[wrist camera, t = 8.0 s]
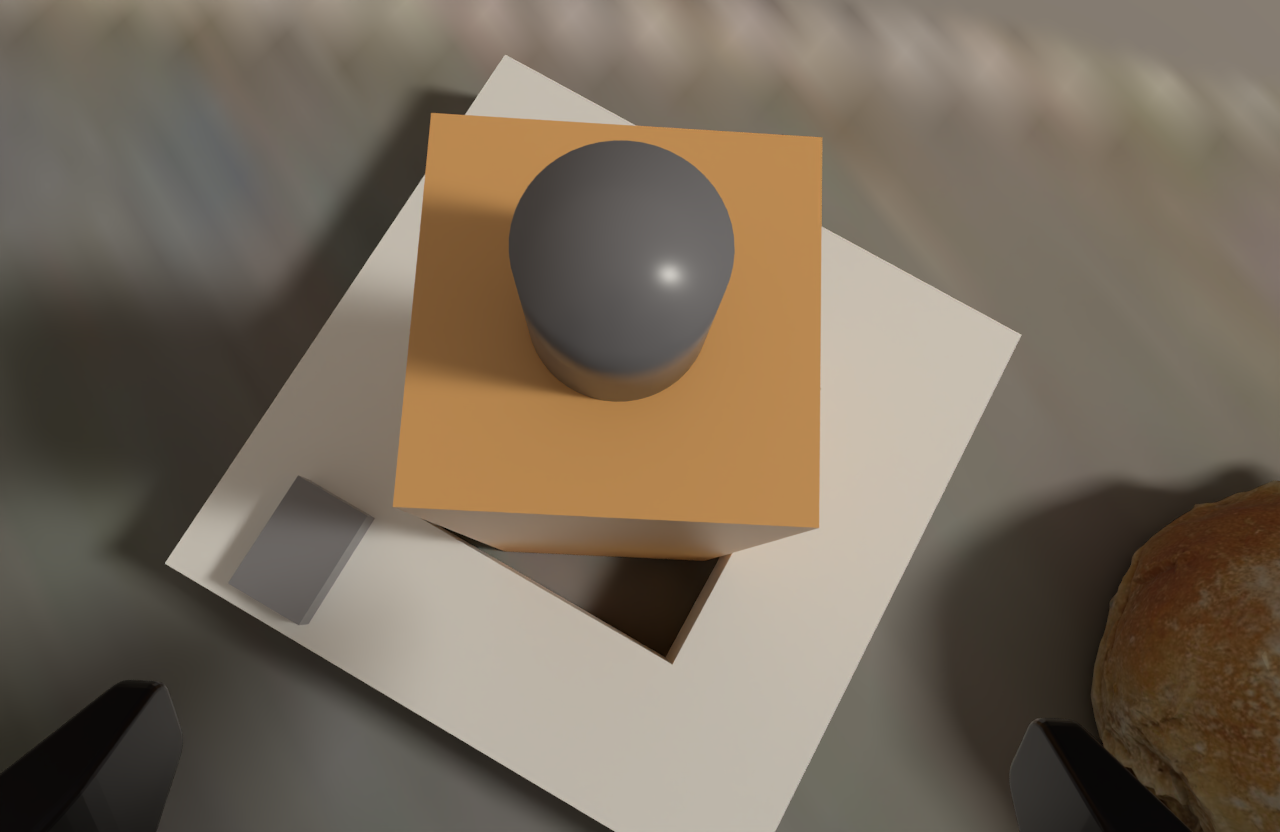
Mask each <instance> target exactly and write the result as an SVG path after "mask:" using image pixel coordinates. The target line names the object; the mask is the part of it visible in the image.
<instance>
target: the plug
mask: <svg viewBox="0 0 1280 832" xmlns="http://www.w3.org/2000/svg"><path fill="white" fill-rule="evenodd" d="M821 231H822V137H807V136H791V135H775V134H759V133H743V132H727V131H711V130H695V129H680V128H664V127H648V126H632V125H616V124H600V123H584V122H568V121H552V120H536V119H520V118H504V117H489V116H473V115H457V114H441V113H431V121H430V131H429V141H428V152H427V162H426V172H425V182H424V192H423V203H422V213H421V223H420V233H419V243H418V254H417V264H416V274H415V284H414V294H413V305H412V315H411V325H410V335H409V345H408V356H407V366H406V376H405V386H404V396H403V407H402V417H401V427H400V437H399V447H398V458H397V468H396V478H395V488H394V499H393V507H394V508H397V509H399V510H402V511H404V512H407V513H409V514H412V515H414V516H417V517H419V518H422V519H424V520H427V521H429V522H432V523H434V524H437V525H439V526H442V527H444V528H447V529H449V530H452V531H454V532H457V533H459V534H462V535H464V536H467V537H469V538H472V539H474V540H477V541H479V542H482V543H485V544H487V545H490V546H492V547H495V548H497V549H500V550H502V551H506V552H527V553H548V554H569V555H590V556H611V557H632V558H653V559H674V560H695V561H706V560H709V559H713V558H716V557H720V556H723V555H727V554H730V553H734V552H737V551H741V550H744V549H748V548H751V547H755V546H758V545H762V544H765V543H769V542H772V541H775V540H779V539H782V538H786V537H789V536H793V535H796V534H800V533H803V532H807V531H810V530H814V529H817V528H819V495H820V363H821Z"/></svg>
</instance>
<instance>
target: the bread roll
mask: <svg viewBox="0 0 1280 832" xmlns="http://www.w3.org/2000/svg"><path fill="white" fill-rule="evenodd" d="M1109 607H1110V610H1109V615H1108V620H1107V624H1106V629H1105V632H1104V635H1103V637H1102V640H1101V642H1100V645H1099V649H1098V653H1097V657H1096V661H1095V665H1094V673H1093V681H1092V689H1091V700H1092V706H1093V711H1094V716H1095V721H1096V724H1097V728H1098V732H1099V736H1100V739H1101V740H1102V742H1103V745H1104V748H1105V749H1106V750H1107V751H1108V752H1110V753H1111V754H1112V755H1113V756H1114V757H1115V758H1116V759H1117V760H1118V761H1119V762H1120V763H1121V764H1122V765H1123V766H1124V767H1125V768H1126V769H1127V770H1128V771H1130V772H1131V773H1132V774H1133V775H1134V776H1135V777H1136V778H1137V779H1138V780H1139V781H1140V782H1141V783H1142V784H1143V785H1144V786H1145V787H1146V788H1147V789H1148V790H1150V791H1151V792H1152V793H1153V794H1154V795H1155V796H1156V797H1157V798H1158V799H1159V800H1160V801H1161V802H1162V803H1163V804H1164V805H1165V806H1166V807H1167V808H1168V809H1170V810H1171V811H1172V812H1173V813H1174V814H1175V815H1176V816H1177V817H1178V818H1179V819H1180V820H1181V821H1182V822H1183V823H1184V824H1185V825H1186V826H1187V827H1188V828H1190V829H1191V830H1192V831H1193V832H1280V481H1271V482H1269V483H1267V484H1264V485H1262V486H1260V487H1258V488H1255V489H1253V490H1251V491H1247V492H1240V493H1236V494H1234V495H1231V496H1229V497H1227V498H1225V499H1223V500H1220V501H1218V502H1215V503H1201V504H1195V506H1194V507H1193V509H1192V510H1191V511H1189V512H1187V513H1185V514H1184V515H1182V516H1180V517H1179V518H1177V519H1176V520H1174V521H1173V522H1171V523H1170V524H1169V525H1167V526H1166V527H1165V528H1163V529H1162V530H1160V531H1159V532H1158V533H1156V534H1155V535H1154V536H1152V537H1151V538H1150V539H1149V540H1148V541H1147V543H1146V544H1144V545H1143V546H1142V547H1141V548H1140V549H1138V550H1137V551H1136V552H1135V553H1134V555H1133V557H1132V563H1131V566H1130V568H1129V569H1128V571H1127V573H1126V574H1125V575H1124V577H1123V578H1122V582H1121V584H1120V585H1119V588H1118V592H1117V593H1116V594H1115V596H1114V597H1113V598H1112V599H1111V600H1110V601H1109Z"/></svg>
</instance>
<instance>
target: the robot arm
mask: <svg viewBox="0 0 1280 832" xmlns="http://www.w3.org/2000/svg"><path fill="white" fill-rule="evenodd" d="M182 744H183V735H182V730H181V727H180V724H179V720H178V717H177V714H176V711H175V708H174V705H173V702H172V699H171V696H170V693H169V691H168V688H167V687H166V686H165V685H164V684H163V683H162V682H158V681H142V680H126V681H122V682H119V683H117V684H115V685H114V686H112V687H111V688H110V689H108V690H107V691H106V692H104V693H103V694H102V695H101V696H99V697H98V698H97V699H96V700H94V701H93V702H92V703H90V704H89V705H88V706H87V707H85V708H84V709H83V710H81V711H80V712H79V713H78V714H76V715H75V716H74V717H73V718H71V719H70V720H69V721H67V722H66V723H65V724H64V725H62V726H61V727H60V728H58V729H57V730H56V731H55V732H53V733H52V734H51V735H50V736H48V737H47V738H46V739H44V740H43V741H42V742H41V743H39V744H38V745H37V746H35V747H34V748H33V749H32V750H30V751H29V752H28V753H27V754H25V755H24V756H23V757H21V758H20V759H19V760H18V761H16V762H15V763H14V764H12V765H11V766H10V767H9V768H7V769H6V770H5V771H4V772H2V773H1V774H0V832H156V831H157V827H158V824H159V821H160V818H161V815H162V812H163V809H164V806H165V803H166V799H167V796H168V793H169V790H170V787H171V784H172V781H173V778H174V775H175V771H176V768H177V765H178V762H179V759H180V755H181V751H182ZM1009 779H1010V789H1011V794H1012V798H1013V803H1014V807H1015V812H1016V817H1017V821H1018V826H1019V831H1020V832H1193V831H1192V830H1191V829H1190V828H1188V827H1187V826H1186V825H1185V824H1184V823H1183V822H1182V821H1181V820H1180V819H1179V818H1178V817H1177V816H1176V815H1175V814H1174V813H1173V812H1172V811H1171V810H1170V809H1168V808H1167V807H1166V806H1165V805H1164V804H1163V803H1162V802H1161V801H1160V800H1159V799H1158V798H1157V797H1156V796H1155V795H1154V794H1153V793H1152V792H1151V791H1150V790H1148V789H1147V788H1146V787H1145V786H1144V785H1143V784H1142V783H1141V782H1140V781H1139V780H1138V779H1137V778H1136V777H1135V776H1134V775H1133V774H1132V773H1131V772H1130V771H1128V770H1127V769H1126V768H1125V767H1124V766H1123V765H1122V764H1121V763H1120V762H1119V761H1118V760H1117V759H1116V758H1115V757H1114V756H1113V755H1112V754H1111V753H1110V752H1108V751H1107V750H1106V749H1105V748H1104V747H1103V746H1102V745H1101V744H1100V743H1099V742H1098V741H1097V740H1096V739H1095V738H1094V737H1093V736H1092V735H1091V734H1090V733H1088V732H1087V731H1086V730H1085V729H1084V728H1083V727H1082V726H1081V725H1080V724H1078V723H1076V722H1075V721H1072V720H1069V719H1056V718H1036V719H1035V720H1034V721H1032V722H1031V723H1030V725H1029V726H1028V728H1027V731H1026V733H1025V735H1024V737H1023V739H1022V742H1021V744H1020V746H1019V748H1018V751H1017V753H1016V755H1015V757H1014V759H1013V762H1012V764H1011V768H1010V778H1009Z"/></svg>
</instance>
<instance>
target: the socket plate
mask: <svg viewBox="0 0 1280 832" xmlns="http://www.w3.org/2000/svg"><path fill="white" fill-rule="evenodd" d="M465 115H473V116H489V117H504V118H520V119H536V120H552V121H568V122H584V123H600V124H616V125H632V126H636V125H634V124H632V123H630V122H628V121H626V120H625V119H623V118H621V117H619V116H617V115H615V114H614V113H612V112H610V111H608V110H606V109H604V108H603V107H601V106H599V105H597V104H595V103H593V102H591V101H590V100H588V99H586V98H584V97H582V96H580V95H579V94H577V93H575V92H573V91H571V90H569V89H568V88H566V87H564V86H562V85H560V84H558V83H556V82H555V81H553V80H551V79H549V78H547V77H545V76H544V75H542V74H540V73H538V72H536V71H534V70H533V69H531V68H529V67H527V66H525V65H523V64H521V63H520V62H518V61H516V60H514V59H512V58H510V57H509V56H507V55H505V56H504V57H503V59H502V60H501V62H500V63H499V65H498V66H497V68H496V69H495V71H494V72H493V74H492V75H491V77H490V78H489V80H488V81H487V83H486V84H485V86H484V87H483V89H482V90H481V92H480V93H479V94H478V96H477V97H476V99H475V100H474V102H473V103H472V105H471V106H470V108H469V109H468V111H467V112H466V114H465ZM424 182H425V175H424V177H423V178H422V180H421V181H420V183H419V184H418V186H417V187H416V189H415V190H414V192H413V193H412V195H411V196H410V198H409V199H408V201H407V202H406V204H405V205H404V207H403V208H402V210H401V211H400V213H399V214H398V216H397V217H396V219H395V220H394V222H393V223H392V224H391V226H390V227H389V229H388V230H387V232H386V233H385V235H384V236H383V238H382V239H381V241H380V242H379V244H378V245H377V247H376V248H375V250H374V251H373V253H372V254H371V256H370V257H369V259H368V260H367V262H366V263H365V265H364V266H363V268H362V269H361V271H360V272H359V274H358V275H357V277H356V278H355V280H354V281H353V283H352V284H351V286H350V287H349V289H348V290H347V292H346V293H345V295H344V296H343V298H342V299H341V301H340V302H339V304H338V305H337V307H336V308H335V310H334V311H333V313H332V314H331V316H330V317H329V319H328V320H327V322H326V323H325V325H324V326H323V328H322V329H321V331H320V332H319V334H318V335H317V337H316V338H315V340H314V341H313V343H312V344H311V346H310V347H309V349H308V350H307V352H306V353H305V354H304V356H303V357H302V359H301V360H300V362H299V363H298V365H297V366H296V368H295V369H294V371H293V372H292V374H291V375H290V377H289V378H288V380H287V381H286V383H285V384H284V386H283V387H282V389H281V390H280V392H279V393H278V395H277V396H276V398H275V399H274V401H273V402H272V404H271V405H270V407H269V408H268V410H267V411H266V413H265V414H264V416H263V417H262V419H261V420H260V422H259V423H258V425H257V426H256V428H255V429H254V431H253V432H252V434H251V435H250V437H249V438H248V440H247V441H246V443H245V444H244V446H243V447H242V449H241V450H240V452H239V453H238V455H237V456H236V458H235V459H234V461H233V462H232V464H231V465H230V467H229V468H228V470H227V471H226V473H225V474H224V476H223V477H222V479H221V480H220V482H219V483H218V484H217V486H216V487H215V489H214V490H213V492H212V493H211V495H210V496H209V498H208V499H207V501H206V502H205V504H204V505H203V507H202V508H201V510H200V511H199V513H198V514H197V516H196V517H195V519H194V520H193V522H192V523H191V525H190V526H189V528H188V529H187V531H186V532H185V534H184V535H183V537H182V538H181V540H180V541H179V543H178V544H177V546H176V547H175V549H174V550H173V552H172V553H171V555H170V556H169V558H168V559H167V561H166V562H165V564H166V565H168V566H170V567H171V568H173V569H175V570H177V571H178V572H180V573H182V574H183V575H185V576H187V577H188V578H190V579H192V580H193V581H195V582H197V583H198V584H200V585H202V586H203V587H205V588H207V589H208V590H210V591H212V592H213V593H215V594H217V595H218V596H220V597H222V598H224V599H225V600H227V601H229V602H230V603H232V604H234V605H235V606H237V607H239V608H240V609H242V610H244V611H245V612H247V613H249V614H250V615H252V616H254V617H255V618H257V619H259V620H260V621H262V622H264V623H265V624H267V625H269V626H271V627H272V628H274V629H276V630H277V631H279V632H281V633H282V634H284V635H286V636H287V637H289V638H291V639H292V640H294V641H296V642H297V643H299V644H301V645H302V646H304V647H306V648H307V649H309V650H311V651H312V652H314V653H316V654H318V655H319V656H321V657H323V658H324V659H326V660H328V661H329V662H331V663H333V664H334V665H336V666H338V667H339V668H341V669H343V670H344V671H346V672H348V673H349V674H351V675H353V676H354V677H356V678H358V679H359V680H361V681H363V682H365V683H366V684H368V685H370V686H371V687H373V688H375V689H376V690H378V691H380V692H381V693H383V694H385V695H386V696H388V697H390V698H391V699H393V700H395V701H396V702H398V703H400V704H401V705H403V706H405V707H406V708H408V709H410V710H412V711H413V712H415V713H417V714H418V715H420V716H422V717H423V718H425V719H427V720H428V721H430V722H432V723H433V724H435V725H437V726H438V727H440V728H442V729H443V730H445V731H447V732H448V733H450V734H452V735H454V736H455V737H457V738H459V739H460V740H462V741H464V742H465V743H467V744H469V745H470V746H472V747H474V748H475V749H477V750H479V751H480V752H482V753H484V754H485V755H487V756H489V757H490V758H492V759H494V760H495V761H497V762H499V763H501V764H502V765H504V766H506V767H507V768H509V769H511V770H512V771H514V772H516V773H517V774H519V775H521V776H522V777H524V778H526V779H527V780H529V781H531V782H532V783H534V784H536V785H537V786H539V787H541V788H542V789H544V790H546V791H548V792H549V793H551V794H553V795H554V796H556V797H558V798H559V799H561V800H563V801H564V802H566V803H568V804H569V805H571V806H573V807H574V808H576V809H578V810H579V811H581V812H583V813H584V814H586V815H588V816H589V817H591V818H593V819H595V820H596V821H598V822H600V823H601V824H603V825H605V826H606V827H608V828H610V829H611V830H613V831H615V832H775V831H776V829H777V827H778V825H779V823H780V821H781V819H782V817H783V815H784V812H785V810H786V808H787V806H788V804H789V802H790V800H791V798H792V796H793V794H794V792H795V790H796V788H797V786H798V784H799V782H800V780H801V778H802V776H803V774H804V772H805V770H806V768H807V766H808V764H809V762H810V760H811V758H812V756H813V754H814V752H815V750H816V748H817V746H818V744H819V742H820V740H821V738H822V736H823V734H824V732H825V730H826V728H827V726H828V724H829V722H830V720H831V718H832V716H833V714H834V712H835V710H836V708H837V706H838V704H839V702H840V700H841V698H842V696H843V694H844V692H845V690H846V688H847V686H848V684H849V682H850V680H851V677H852V675H853V673H854V671H855V669H856V667H857V665H858V663H859V661H860V659H861V657H862V655H863V653H864V651H865V649H866V647H867V645H868V643H869V641H870V639H871V637H872V635H873V633H874V631H875V629H876V627H877V625H878V623H879V621H880V619H881V617H882V615H883V613H884V611H885V609H886V607H887V605H888V603H889V601H890V599H891V597H892V595H893V593H894V591H895V589H896V587H897V585H898V583H899V581H900V579H901V577H902V575H903V573H904V571H905V569H906V567H907V565H908V563H909V561H910V559H911V557H912V555H913V553H914V551H915V549H916V547H917V545H918V542H919V540H920V538H921V536H922V534H923V532H924V530H925V528H926V526H927V524H928V522H929V520H930V518H931V516H932V514H933V512H934V510H935V508H936V506H937V504H938V502H939V500H940V498H941V496H942V494H943V492H944V490H945V488H946V486H947V484H948V482H949V480H950V478H951V476H952V474H953V472H954V470H955V468H956V466H957V464H958V462H959V460H960V458H961V456H962V454H963V452H964V450H965V448H966V446H967V444H968V442H969V440H970V438H971V436H972V434H973V432H974V430H975V428H976V426H977V424H978V422H979V420H980V418H981V416H982V414H983V412H984V410H985V407H986V405H987V403H988V401H989V399H990V397H991V395H992V393H993V391H994V389H995V387H996V385H997V383H998V381H999V379H1000V377H1001V375H1002V373H1003V371H1004V369H1005V367H1006V365H1007V363H1008V361H1009V359H1010V357H1011V355H1012V353H1013V351H1014V349H1015V347H1016V345H1017V343H1018V341H1019V339H1020V337H1021V334H1019V333H1017V332H1015V331H1013V330H1011V329H1010V328H1008V327H1006V326H1004V325H1002V324H1000V323H999V322H997V321H995V320H993V319H991V318H989V317H987V316H986V315H984V314H982V313H980V312H978V311H976V310H975V309H973V308H971V307H969V306H967V305H965V304H964V303H962V302H960V301H958V300H956V299H954V298H952V297H951V296H949V295H947V294H945V293H943V292H941V291H940V290H938V289H936V288H934V287H932V286H930V285H929V284H927V283H925V282H923V281H921V280H919V279H917V278H916V277H914V276H912V275H910V274H908V273H906V272H905V271H903V270H901V269H899V268H897V267H895V266H894V265H892V264H890V263H888V262H886V261H884V260H882V259H881V258H879V257H877V256H875V255H873V254H871V253H870V252H868V251H866V250H864V249H862V248H860V247H859V246H857V245H855V244H853V243H851V242H849V241H847V240H846V239H844V238H842V237H840V236H838V235H836V234H835V233H833V232H831V231H829V230H827V229H825V228H824V227H822V231H821V363H820V495H819V528H817V529H814V530H810V531H807V532H803V533H800V534H796V535H793V536H789V537H786V538H782V539H779V540H775V541H772V542H769V543H765V544H762V545H758V546H755V547H751V548H748V549H744V550H741V551H737V552H734V553H730V554H727V555H723V556H720V557H719V559H718V561H717V563H716V565H715V567H714V568H713V570H712V572H711V574H710V576H709V578H708V580H707V581H706V583H705V585H704V587H703V589H702V591H701V592H700V594H699V596H698V598H697V600H696V602H695V604H694V605H693V607H692V609H691V611H690V613H689V615H688V617H687V618H686V620H685V622H684V624H683V626H682V628H681V629H680V631H679V633H678V635H677V637H676V639H675V641H674V642H673V644H672V646H671V648H670V650H669V652H668V654H667V655H666V657H664V656H662V655H661V654H659V653H657V652H656V651H654V650H652V649H650V648H649V647H647V646H645V645H644V644H642V643H640V642H638V641H637V640H635V639H633V638H631V637H630V636H628V635H626V634H625V633H623V632H621V631H619V630H618V629H616V628H614V627H613V626H611V625H609V624H607V623H606V622H604V621H602V620H600V619H599V618H597V617H595V616H594V615H592V614H590V613H588V612H587V611H585V610H583V609H582V608H580V607H578V606H576V605H575V604H573V603H571V602H569V601H568V600H566V599H564V598H563V597H561V596H559V595H557V594H556V593H554V592H552V591H551V590H549V589H547V588H545V587H544V586H542V585H540V584H538V583H537V582H535V581H533V580H532V579H530V578H528V577H526V576H525V575H523V574H521V573H520V572H518V571H516V570H514V569H513V568H511V567H509V566H507V565H506V564H504V563H502V562H501V561H499V560H497V559H495V558H494V557H492V556H490V555H489V554H487V553H485V552H483V551H482V550H480V549H478V548H476V547H475V546H473V545H471V544H470V543H468V542H466V541H464V540H463V539H461V538H459V537H458V536H456V535H454V534H452V533H451V532H449V531H447V530H446V529H444V528H442V527H440V526H439V525H437V524H434V523H432V522H429V521H427V520H424V519H422V518H419V517H417V516H414V515H412V514H409V513H407V512H404V511H402V510H399V509H397V508H394V507H393V499H394V488H395V478H396V468H397V458H398V447H399V437H400V427H401V417H402V407H403V396H404V386H405V376H406V366H407V356H408V345H409V335H410V325H411V315H412V305H413V294H414V284H415V274H416V264H417V254H418V243H419V233H420V223H421V213H422V203H423V192H424Z"/></svg>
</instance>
